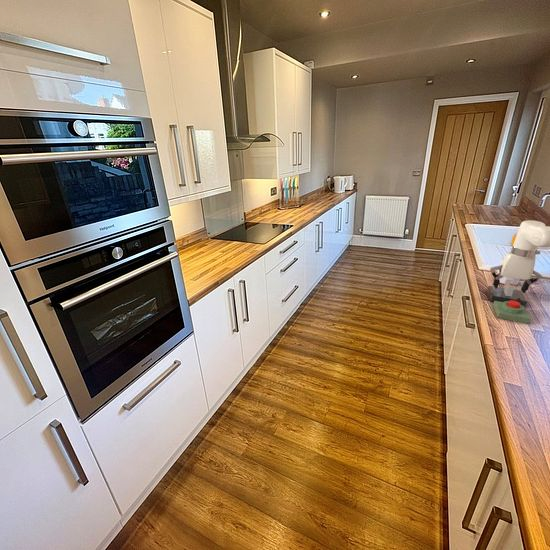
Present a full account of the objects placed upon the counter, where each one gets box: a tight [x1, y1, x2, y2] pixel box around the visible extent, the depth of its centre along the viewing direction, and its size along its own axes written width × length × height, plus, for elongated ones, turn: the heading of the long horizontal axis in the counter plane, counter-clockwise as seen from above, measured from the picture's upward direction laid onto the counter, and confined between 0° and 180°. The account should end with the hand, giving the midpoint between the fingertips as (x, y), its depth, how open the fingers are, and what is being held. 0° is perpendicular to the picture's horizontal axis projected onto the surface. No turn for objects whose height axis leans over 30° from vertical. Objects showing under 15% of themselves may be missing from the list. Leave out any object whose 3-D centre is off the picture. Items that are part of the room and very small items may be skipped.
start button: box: [508, 300, 520, 308], centre depth 114 cm, size 4×4×2 cm
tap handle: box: [502, 279, 516, 296], centre depth 123 cm, size 6×2×5 cm, turn 154°
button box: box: [492, 301, 532, 324], centre depth 115 cm, size 10×10×4 cm
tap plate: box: [486, 285, 528, 308], centre depth 125 cm, size 12×10×3 cm
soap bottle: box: [496, 233, 521, 286], centre depth 135 cm, size 9×9×25 cm
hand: (508, 289), depth 124 cm, fingers open, 9 cm apart
